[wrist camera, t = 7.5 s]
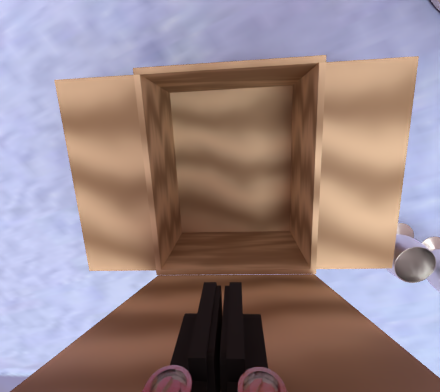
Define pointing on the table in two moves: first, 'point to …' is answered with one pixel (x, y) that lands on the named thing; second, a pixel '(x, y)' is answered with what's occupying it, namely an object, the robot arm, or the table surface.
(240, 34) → the table surface
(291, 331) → the lid flap
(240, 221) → the carton
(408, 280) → the goblet set
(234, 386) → the robot arm
